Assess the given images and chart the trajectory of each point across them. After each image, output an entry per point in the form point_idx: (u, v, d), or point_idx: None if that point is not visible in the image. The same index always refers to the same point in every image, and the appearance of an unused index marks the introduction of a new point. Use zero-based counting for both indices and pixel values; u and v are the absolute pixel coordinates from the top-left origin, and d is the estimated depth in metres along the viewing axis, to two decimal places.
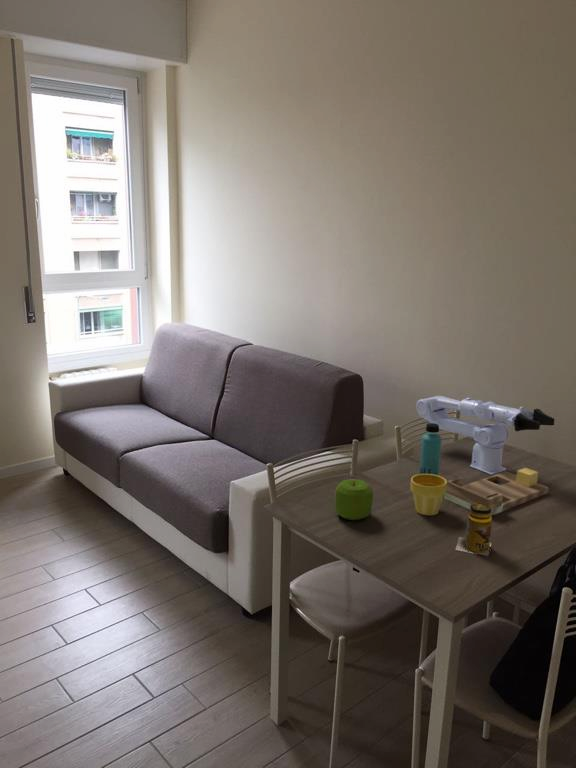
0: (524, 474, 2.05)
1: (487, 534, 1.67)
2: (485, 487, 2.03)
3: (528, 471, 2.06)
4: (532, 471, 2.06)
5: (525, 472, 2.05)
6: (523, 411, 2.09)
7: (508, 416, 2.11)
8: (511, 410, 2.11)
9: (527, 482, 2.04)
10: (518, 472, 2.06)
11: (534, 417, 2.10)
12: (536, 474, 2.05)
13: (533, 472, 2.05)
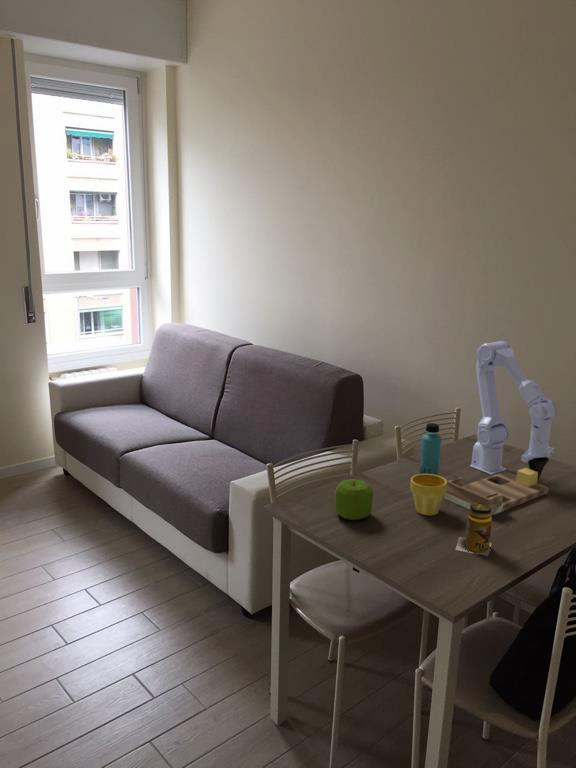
0: (524, 474, 2.05)
1: (487, 534, 1.67)
2: (485, 487, 2.03)
3: (528, 471, 2.06)
4: (532, 471, 2.06)
5: (525, 472, 2.05)
6: None
7: (535, 445, 2.03)
8: (543, 446, 2.03)
9: (527, 482, 2.04)
10: (518, 472, 2.06)
11: (538, 458, 2.07)
12: (536, 474, 2.05)
13: (533, 472, 2.05)
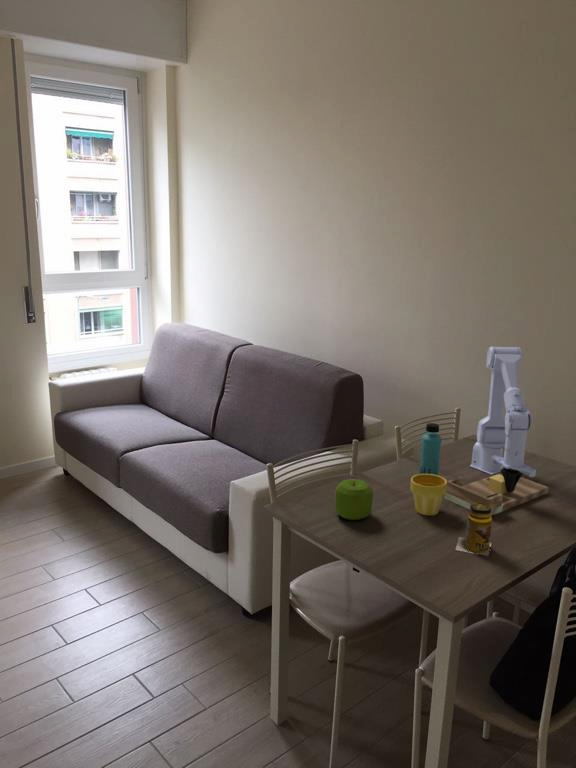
0: (496, 481, 1.99)
1: (487, 534, 1.67)
2: (485, 487, 2.03)
3: (500, 478, 2.00)
4: None
5: (497, 479, 2.00)
6: None
7: None
8: (505, 455, 1.95)
9: (499, 489, 1.98)
10: (490, 479, 2.01)
11: None
12: None
13: None
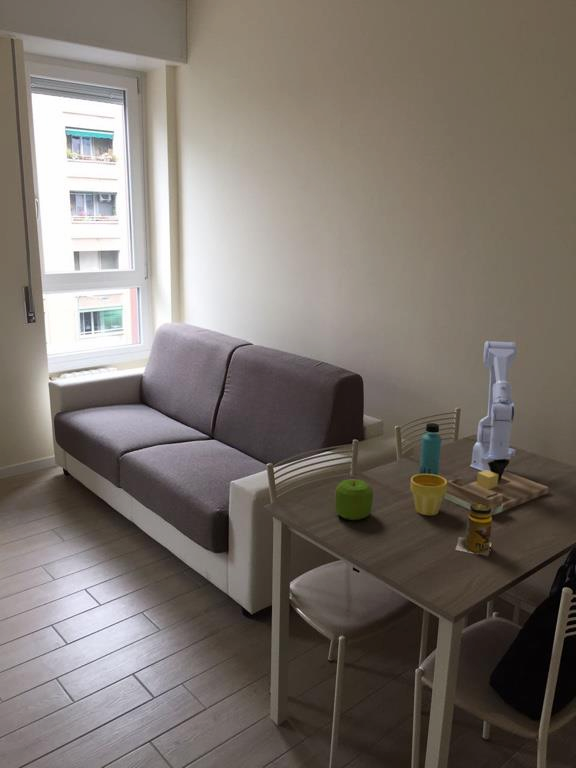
0: (484, 476, 2.02)
1: (487, 534, 1.67)
2: None
3: (488, 473, 2.04)
4: (492, 473, 2.04)
5: (485, 474, 2.03)
6: None
7: (495, 447, 2.01)
8: (503, 448, 2.01)
9: (487, 485, 2.02)
10: (478, 474, 2.04)
11: (498, 460, 2.05)
12: (496, 476, 2.03)
13: (493, 474, 2.03)
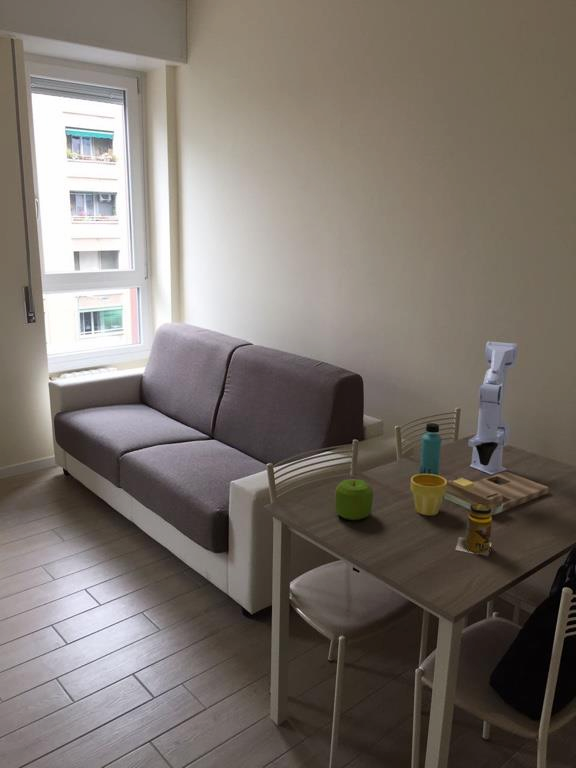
0: None
1: (487, 534, 1.67)
2: (485, 487, 2.03)
3: (463, 481, 1.97)
4: (468, 482, 1.97)
5: (460, 483, 1.96)
6: None
7: (483, 429, 1.96)
8: (491, 430, 1.95)
9: None
10: None
11: None
12: (472, 485, 1.97)
13: (469, 483, 1.97)
